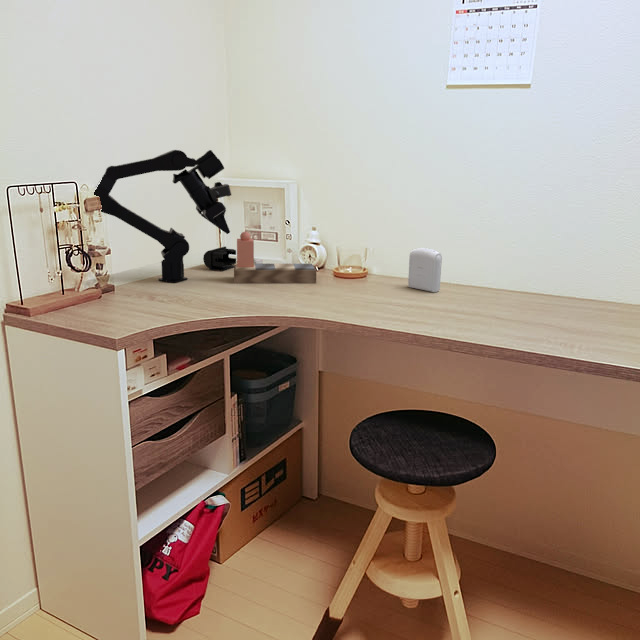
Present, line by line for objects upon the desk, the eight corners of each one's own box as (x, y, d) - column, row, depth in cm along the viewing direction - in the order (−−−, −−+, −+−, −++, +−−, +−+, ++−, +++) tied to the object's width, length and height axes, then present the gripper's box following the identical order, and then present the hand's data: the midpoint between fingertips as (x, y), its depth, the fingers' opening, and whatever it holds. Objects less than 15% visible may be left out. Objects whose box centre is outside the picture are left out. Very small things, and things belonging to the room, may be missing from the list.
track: (234, 283, 196) (233, 268, 195) (234, 277, 205) (234, 263, 204) (316, 283, 199) (316, 268, 198) (312, 277, 208) (313, 263, 207)
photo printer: (405, 287, 197) (408, 246, 194) (414, 285, 200) (416, 245, 196) (433, 293, 190) (436, 251, 186) (441, 291, 193) (445, 249, 189)
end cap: (218, 265, 225) (218, 245, 223) (236, 267, 222) (236, 247, 220) (203, 269, 216) (202, 249, 214) (221, 272, 213) (221, 251, 211)
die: (255, 273, 211) (255, 261, 210) (245, 272, 213) (245, 260, 212) (262, 271, 215) (262, 259, 213) (252, 270, 216) (252, 258, 215)
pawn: (237, 267, 197) (236, 232, 194) (237, 264, 202) (236, 230, 199) (253, 267, 198) (253, 232, 195) (253, 264, 202) (253, 230, 200)
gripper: (224, 174, 186) (254, 219, 192) (212, 171, 203) (240, 212, 209) (192, 196, 184) (223, 241, 191) (183, 191, 201) (212, 232, 208)
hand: (225, 231), depth 200 cm, fingers open, 9 cm apart
